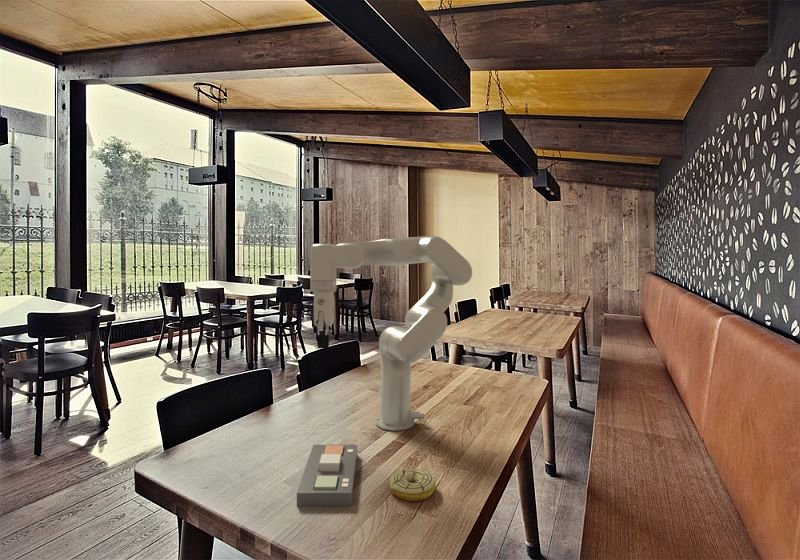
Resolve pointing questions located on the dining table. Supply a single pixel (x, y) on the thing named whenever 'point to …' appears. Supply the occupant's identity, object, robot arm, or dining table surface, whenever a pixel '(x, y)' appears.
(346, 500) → the keypad
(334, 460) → the grey key
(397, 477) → the decorated donut
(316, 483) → the sage key
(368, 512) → the dining table surface
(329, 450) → the terracotta key
